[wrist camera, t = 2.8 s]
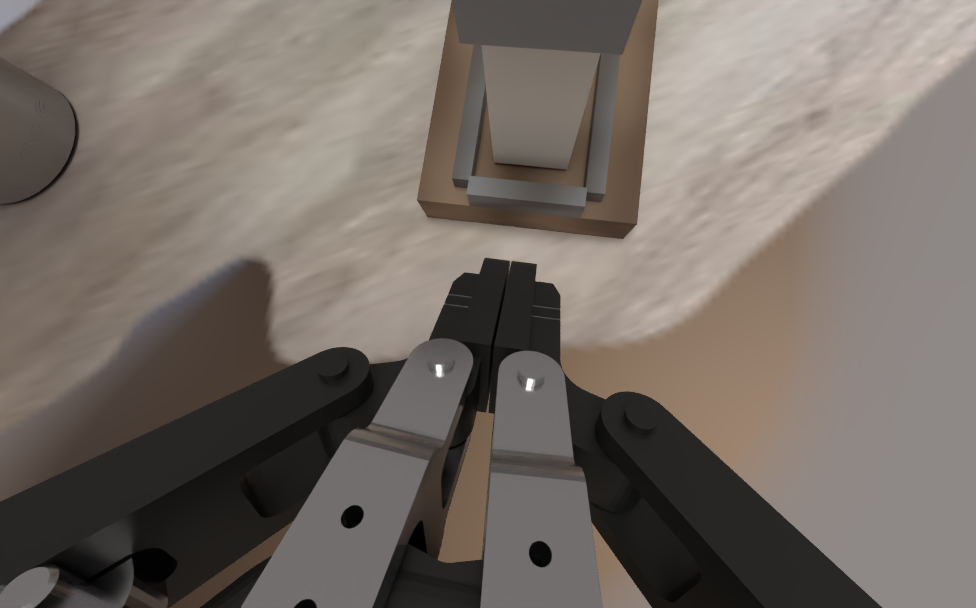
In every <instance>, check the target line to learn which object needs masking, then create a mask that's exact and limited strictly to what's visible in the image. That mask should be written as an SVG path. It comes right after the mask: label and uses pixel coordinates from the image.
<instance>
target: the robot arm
mask: <svg viewBox="0 0 976 608" xmlns="http://www.w3.org/2000/svg"><path fill="white" fill-rule="evenodd" d="M74 137H75V120H74V116H73V112H72V109H71V107H70V105H69V103H68V101H67V100H66V99H65V97H64V96H63V95H62V94H61V93H60V92H59V91H57V90H56V89H54V88H52V87H51V86H49V85H48V84H46V83H44V82H42V81H41V80H39V79H37V78H35V77H34V76H32V75H30V74H29V73H27V72H25V71H23V70H22V69H20V68H18V67H16V66H15V65H13V64H11V63H10V62H8V61H6V60H4V59H3V58H1V57H0V204H5V203H14V202H17V201H20V200H23V199H26V198H28V197H30V196H32V195H34V194H36V193H38V192H39V191H40V190H42V189H43V188H44V187H46V186H47V185H48V184H49V183H50V182H51V181H52V180H53V179H54V178H55V177H56V176H57V175H58V174H59V172H60V171H61V169H62V168H63V166H64V165H65V163H66V161H67V160H68V157H69V155H70V152H71V150H72V147H73V142H74ZM509 267H510V261H507V260H498V259H490V258H485V259H484V261H483V264H482V268H481V271H480V274H473V273H463V274H462V275H461V276H460V277H458V278H457V279H456V280H455V281H454V282H453V284H452V286H451V289H450V291H449V295H448V296H447V298H446V301H445V305H443V308H442V310H441V313H440V315H439V317H438V320H437V322H436V325H435V327H434V329H433V332H432V334H431V336H430V339H429V341H426V342H424V343H422V344H420V345H419V346H417V347H416V348H415V349H414V350H413V351H412V353H411V354H410V356H409V358H407V359H405V360H401V361H396V362H388V363H378V364H369V361H368V358H367V357H366V356H365V355H364V354H363V353H362V352H360V351H359V350H356V349H354V348H348V347H337V348H331V349H328V350H325V351H322V352H320V353H318V354H315V355H313V356H311V357H309V358H307V359H305V360H303V361H300V362H298V363H296V364H294V365H292V366H290V367H288V368H286V369H283V370H282V371H279V372H277V373H275V374H273V375H271V376H269V377H266V378H264V379H262V380H260V381H258V382H256V383H254V384H251V385H249V386H247V387H245V388H243V389H241V390H239V391H236V392H234V393H232V394H230V395H228V396H226V397H223V398H222V399H219V400H217V401H215V402H213V403H211V404H209V405H206V406H204V407H202V408H200V409H198V410H196V411H194V412H191V413H189V414H187V415H185V416H183V417H181V418H179V419H177V420H174V421H172V422H170V423H168V424H166V425H164V426H161V427H159V428H157V429H155V430H153V431H151V432H149V433H147V434H144V435H142V436H140V437H138V438H136V439H134V440H131V441H129V442H127V443H125V444H123V445H121V446H119V447H117V448H114V449H112V450H110V451H108V452H106V453H104V454H102V455H100V456H97V457H95V458H93V459H91V460H89V461H87V462H85V463H82V464H80V465H78V466H76V467H74V468H72V469H69V470H68V471H65V472H63V473H61V474H59V475H57V476H55V477H53V478H50V479H48V480H46V481H44V482H42V483H40V484H37V485H35V486H33V487H31V488H29V489H27V490H25V491H23V492H20V493H18V494H16V495H14V496H12V497H10V498H8V499H5V500H3V501H1V502H0V608H169V607H171V606H172V605H173V604H175V603H176V602H178V601H179V600H180V599H182V598H184V597H185V596H186V595H188V594H189V593H191V592H192V591H193V590H195V589H196V588H198V587H199V586H201V585H202V584H203V583H205V582H206V581H208V580H209V579H211V578H212V577H214V576H215V575H216V574H218V573H219V572H221V571H222V570H224V569H225V568H226V567H228V566H229V565H231V564H232V563H234V562H235V561H236V560H238V559H239V558H241V557H242V556H243V555H245V554H246V553H248V552H249V551H251V550H252V549H254V548H255V547H256V546H258V545H259V544H261V543H262V542H263V541H265V540H266V539H268V538H269V537H271V536H272V535H273V534H275V533H276V532H278V531H279V530H281V529H282V528H284V527H285V526H286V525H288V524H289V523H291V522H292V521H294V522H293V523H292V525H291V527H290V528H289V530H288V531H287V533H286V535H285V536H284V538H283V539H282V541H281V543H280V544H279V546H278V548H277V549H276V551H275V552H274V554H273V555H272V556H271V557H269V558H267V559H266V560H264V561H262V562H261V563H259V564H257V565H256V566H254V567H253V568H252V569H250V570H249V571H247V572H246V573H245V574H243V575H242V576H241V577H239V578H238V579H237V580H235V581H234V582H233V583H232V584H230V585H229V586H228V587H226V588H225V589H224V590H222V591H221V592H220V593H218V594H217V595H216V596H214V597H213V598H212V599H211V600H209V601H208V602H207V603H205V604H204V605H203V606H202V607H200V608H603V607H602V600H601V592H600V585H599V577H598V569H597V562H596V554H595V546H594V539H593V531H592V523H593V525H594V526H595V527H596V529H597V530H598V532H599V533H600V535H601V536H602V537H603V539H604V540H605V542H606V543H607V544H608V546H609V547H610V549H611V550H612V551H613V553H614V554H615V556H616V557H617V559H618V560H619V561H620V563H621V564H622V566H623V567H624V568H625V569H626V571H627V573H628V574H629V576H630V577H631V578H632V580H633V581H634V583H635V584H636V585H637V587H638V588H639V590H640V591H641V592H642V594H643V595H644V597H645V598H646V600H647V601H648V602H649V604H650V605H651V607H652V608H882V607H881V606H879V604H877V602H875V601H874V600H873V599H872V598H871V597H870V596H869V595H868V594H867V593H866V592H865V591H863V590H862V589H861V588H860V587H859V586H858V585H857V584H856V583H855V582H853V580H851V579H850V578H849V577H848V576H847V575H846V574H845V573H844V572H843V571H842V570H841V569H839V568H838V567H837V566H836V565H835V564H834V563H833V562H832V561H831V560H830V559H828V557H826V556H825V555H824V554H823V553H822V552H821V551H820V550H819V549H818V548H817V547H816V546H814V545H813V544H812V543H811V542H810V541H809V540H808V539H807V538H806V537H805V536H803V535H802V534H801V533H800V532H799V531H798V530H797V529H796V528H795V527H794V526H793V525H792V524H791V523H789V522H788V521H787V520H786V519H785V518H784V517H783V516H782V515H781V514H780V513H778V512H777V511H776V510H775V509H774V508H773V507H772V506H771V505H770V504H769V503H768V502H767V501H765V500H764V499H763V498H762V497H761V496H760V495H759V494H758V493H757V492H756V491H754V490H753V489H752V488H751V487H750V486H749V485H748V484H747V483H746V482H745V481H744V480H743V479H741V478H740V477H739V476H738V475H737V474H736V473H735V472H734V471H733V470H732V469H730V467H728V466H727V465H726V464H725V463H724V462H723V461H722V460H721V459H720V458H719V457H718V456H716V455H715V454H714V453H713V452H712V451H711V450H710V449H709V448H708V447H707V446H705V445H704V444H703V443H702V442H701V441H700V440H699V439H698V438H697V437H696V436H695V435H694V434H692V433H691V432H690V431H689V430H688V429H687V428H686V427H685V426H684V425H683V424H682V423H681V422H679V421H678V420H677V419H676V418H675V417H674V416H673V415H672V414H671V413H670V412H669V411H667V410H666V409H665V408H664V407H663V406H662V405H660V404H659V403H658V402H657V401H655V400H653V399H652V398H650V397H647V396H645V395H642V394H639V393H635V392H619V393H615V394H613V395H611V396H609V397H608V398H607V399H606V400H605V399H603V398H601V397H598V396H596V395H594V394H591V393H589V392H587V391H585V390H583V389H581V388H579V387H578V386H576V385H575V384H573V382H571V381H570V380H569V378H568V377H567V376H566V375H565V373H564V372H563V369H562V367H561V363H560V294H559V292H558V291H557V289H556V288H555V286H554V285H553V284H552V283H544V282H536V281H535V277H536V267H537V264H531V263H523V262H515V261H512V262H511V267H510V272H509ZM490 389H491V390H490ZM489 394H490V402H489V413H494V422H493V432H492V443H491V454H490V467H489V478H488V490H487V491H488V492H487V503H486V515H485V526H484V538H483V549H482V560H475V561H465V562H456V563H444V562H441V561H438V560H437V559H438V556H439V552H440V548H441V544H442V539H443V533H444V527H445V522H446V517H447V514H448V510H449V507H450V504H451V500H452V497H453V494H454V490H455V487H456V484H457V481H458V477H459V474H460V471H461V468H462V464H463V461H464V458H465V454H466V451H467V448H468V445H469V442H470V437H471V432H472V429H473V426H474V421H475V417H476V412H477V411H480V412H486V409H487V404H488V399H489ZM591 522H592V523H591Z"/></svg>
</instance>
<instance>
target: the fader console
mask: <svg viewBox="0 0 976 608" xmlns="http://www.w3.org/2000/svg"><path fill="white" fill-rule="evenodd" d="M657 9H658V0H642V3H641V5H640V8H639V11H638V14H637V16H636V19H635V22H634V25H633V27H632V30H631V33H630V36H629V38H628V41H627V44H626V47H625V49H624V52H623V55H619V54H605V53H601V54H600V57H599V61H598V64H597V68H596V71H595V75H594V78H593V82H592V85H591V89H590V92H589V95H588V99H587V102H586V106H585V109H584V113H583V116H582V120H581V123H580V127H579V130H578V134H577V137H576V141H575V144H574V148H573V151H572V154H571V158H570V161H569V165H568V168H567V169H557V168H547V167H536V166H526V165H516V164H506V163H495V162H494V159H493V150H492V140H491V131H490V121H489V112H488V103H487V93H486V84H485V74H484V65H483V56H482V46H481V45H475V44H461V43H459V38H458V32H457V26H456V21H455V15H454V9H453V4H452V2H451V8H450V14H449V19H448V25H447V31H446V37H445V42H444V48H443V54H442V60H441V65H440V71H439V77H438V83H437V88H436V94H435V100H434V106H433V111H432V117H431V123H430V129H429V134H428V140H427V146H426V152H425V158H424V163H423V169H422V175H421V181H420V186H419V192H418V198H417V201H418V202H419V204H420V205H421V207H422V209H423V210H424V212H425V213H426V215H427V216H428V217H436V218H445V219H454V220H462V221H471V222H480V223H489V224H498V225H507V226H516V227H524V228H533V229H542V230H551V231H560V232H569V233H578V234H587V235H595V236H604V237H613V238H622V239H623V238H624V237H625V236H626V235H627V234H628V233H629V232H630V231H631V230H632V229H633V228H634V227H635V226H636V224H637V218H638V208H639V197H640V187H641V176H642V166H643V155H644V145H645V134H646V124H647V114H648V103H649V93H650V82H651V72H652V61H653V51H654V40H655V30H656V19H657Z"/></svg>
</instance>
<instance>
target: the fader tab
mask: <svg viewBox="0 0 976 608" xmlns="http://www.w3.org/2000/svg"><path fill="white" fill-rule="evenodd" d="M641 3H642V0H452V4H453V9H454V15H455V21H456V26H457V32H458V38H459V43H461V44H475V45H481V46H482V56H483V65H484V74H485V84H486V93H487V103H488V112H489V121H490V131H491V140H492V150H493V159H494V162H495V163H506V164H516V165H526V166H536V167H547V168H557V169H567V168H568V165H569V161H570V158H571V154H572V151H573V148H574V144H575V141H576V137H577V134H578V130H579V127H580V123H581V120H582V116H583V113H584V109H585V106H586V102H587V99H588V95H589V92H590V89H591V85H592V82H593V78H594V75H595V71H596V68H597V64H598V61H599V57H600V54H601V53H605V54H619V55H623V52H624V49H625V47H626V44H627V41H628V38H629V36H630V33H631V30H632V27H633V25H634V22H635V19H636V16H637V14H638V11H639V8H640V5H641Z"/></svg>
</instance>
